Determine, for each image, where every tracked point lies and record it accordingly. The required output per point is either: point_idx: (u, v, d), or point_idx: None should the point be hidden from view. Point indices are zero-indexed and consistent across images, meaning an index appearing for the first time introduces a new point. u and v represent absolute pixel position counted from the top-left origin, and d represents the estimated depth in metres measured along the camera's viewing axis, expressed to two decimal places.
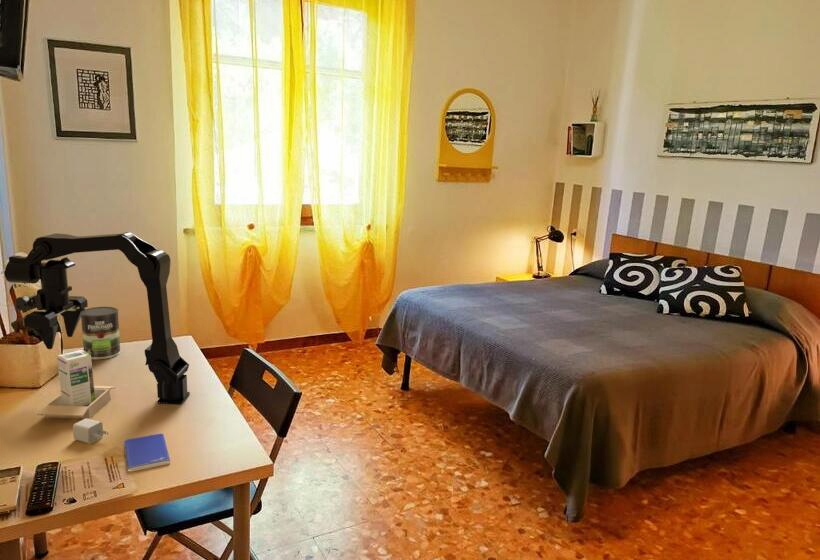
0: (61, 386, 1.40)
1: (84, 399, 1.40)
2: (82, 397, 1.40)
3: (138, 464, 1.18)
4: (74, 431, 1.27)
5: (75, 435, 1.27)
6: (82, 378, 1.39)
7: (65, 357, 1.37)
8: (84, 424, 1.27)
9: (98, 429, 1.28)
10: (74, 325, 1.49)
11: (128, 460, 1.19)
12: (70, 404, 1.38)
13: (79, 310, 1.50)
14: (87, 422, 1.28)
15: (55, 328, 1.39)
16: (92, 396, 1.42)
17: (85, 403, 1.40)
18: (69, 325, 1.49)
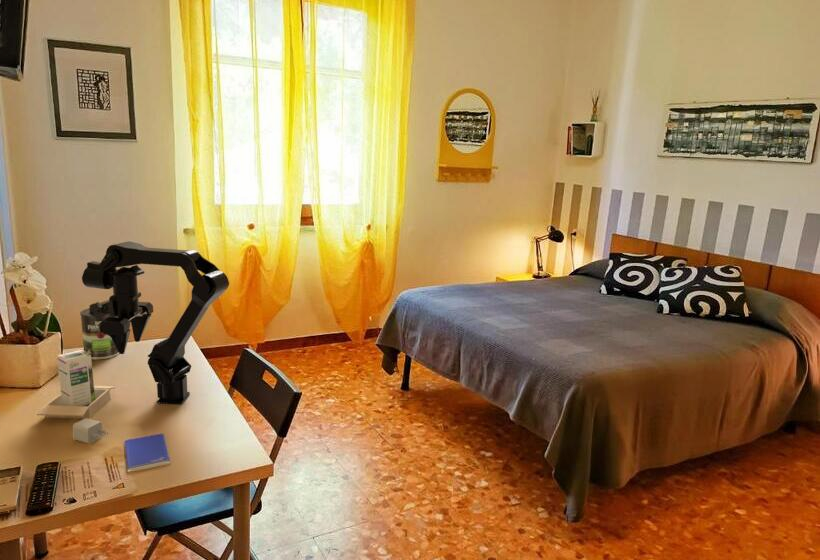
0: (61, 386, 1.40)
1: (84, 399, 1.40)
2: (82, 397, 1.40)
3: (138, 464, 1.18)
4: (74, 431, 1.27)
5: (75, 435, 1.27)
6: (82, 378, 1.39)
7: (65, 357, 1.37)
8: (84, 424, 1.27)
9: (98, 429, 1.28)
10: (141, 330, 1.53)
11: (128, 460, 1.19)
12: (70, 404, 1.38)
13: (146, 315, 1.54)
14: (86, 422, 1.28)
15: (128, 334, 1.42)
16: (92, 396, 1.42)
17: (85, 403, 1.40)
18: (137, 330, 1.53)
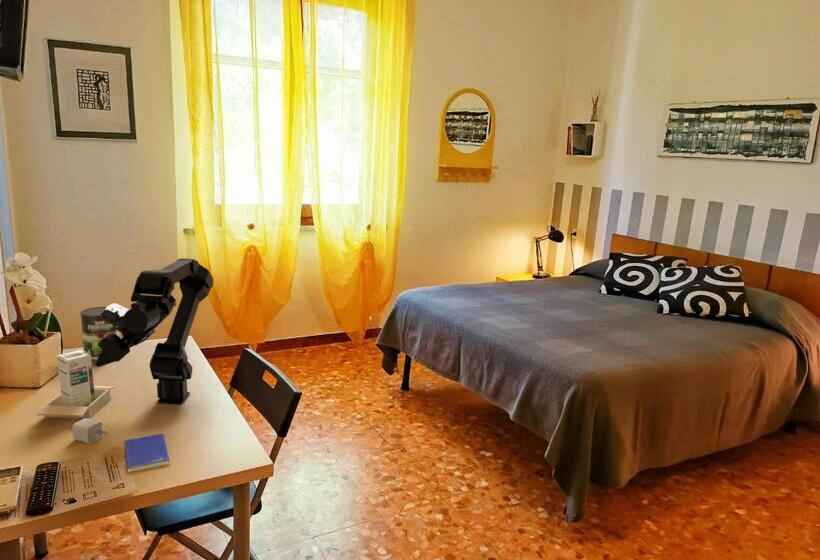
0: (61, 386, 1.40)
1: (84, 399, 1.40)
2: (82, 397, 1.40)
3: (138, 464, 1.18)
4: (73, 431, 1.27)
5: (75, 435, 1.27)
6: (82, 378, 1.39)
7: (65, 357, 1.37)
8: (83, 424, 1.27)
9: (97, 429, 1.28)
10: None
11: (128, 460, 1.19)
12: (70, 404, 1.38)
13: None
14: (86, 422, 1.28)
15: None
16: (92, 396, 1.42)
17: (85, 403, 1.40)
18: None
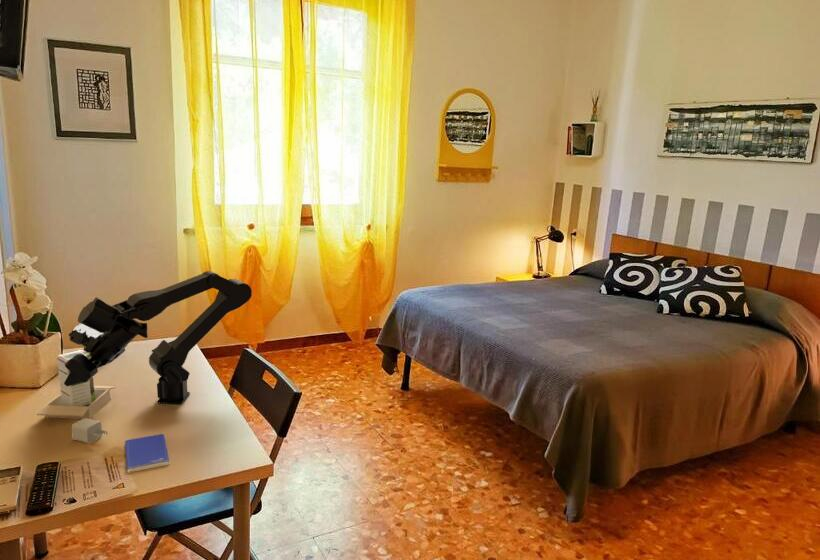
0: (61, 386, 1.40)
1: (84, 399, 1.40)
2: (82, 397, 1.40)
3: (137, 465, 1.18)
4: (73, 431, 1.27)
5: (74, 435, 1.27)
6: None
7: (65, 357, 1.37)
8: (83, 424, 1.27)
9: (97, 429, 1.28)
10: None
11: (128, 461, 1.19)
12: (70, 404, 1.38)
13: None
14: (86, 421, 1.28)
15: None
16: (92, 396, 1.42)
17: (85, 403, 1.40)
18: None
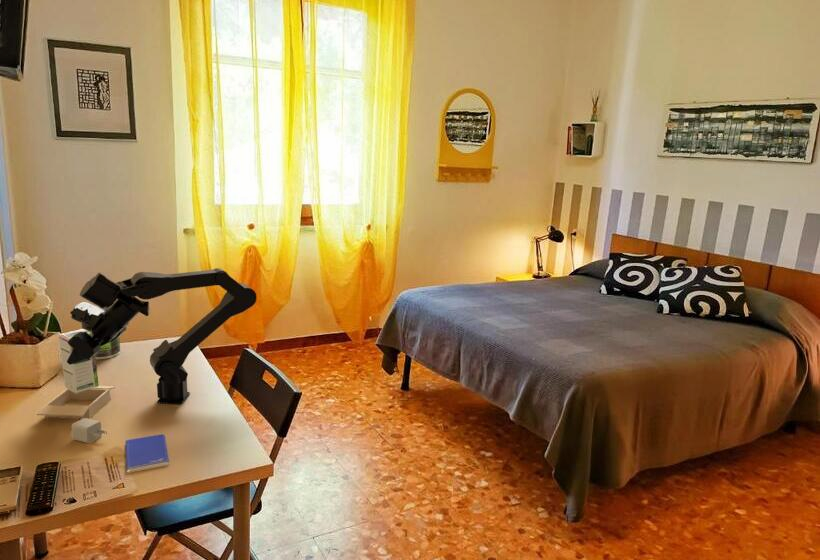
0: (63, 365, 1.40)
1: (87, 377, 1.40)
2: (85, 375, 1.40)
3: (137, 465, 1.18)
4: (73, 431, 1.27)
5: (74, 435, 1.27)
6: None
7: (67, 335, 1.37)
8: (83, 424, 1.27)
9: (97, 428, 1.28)
10: None
11: (127, 461, 1.19)
12: (73, 382, 1.38)
13: None
14: (85, 421, 1.28)
15: None
16: (95, 374, 1.42)
17: (88, 382, 1.41)
18: None
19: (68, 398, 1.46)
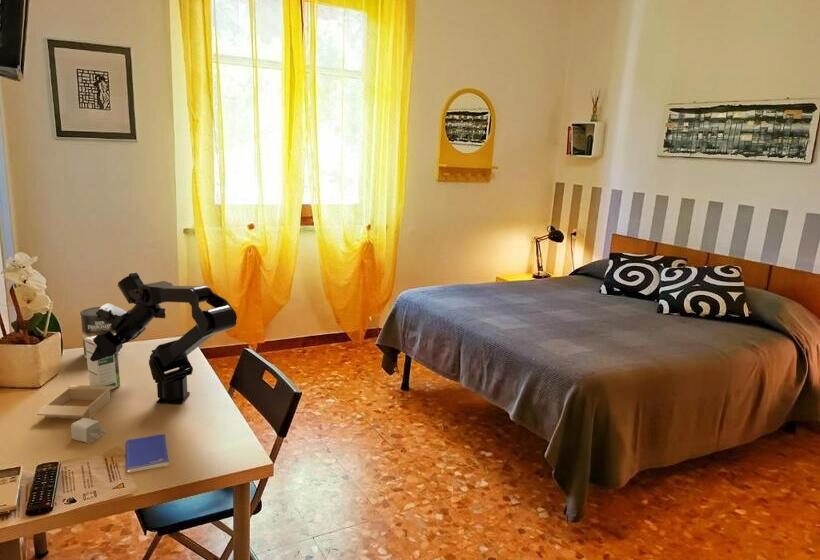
0: (89, 366, 1.52)
1: (110, 378, 1.53)
2: (108, 376, 1.52)
3: (137, 465, 1.17)
4: (72, 430, 1.27)
5: (74, 435, 1.27)
6: (108, 359, 1.51)
7: None
8: (82, 423, 1.27)
9: (96, 428, 1.28)
10: None
11: (127, 461, 1.19)
12: (97, 382, 1.51)
13: None
14: (85, 421, 1.28)
15: None
16: (117, 375, 1.54)
17: (111, 382, 1.53)
18: None
19: (68, 398, 1.46)
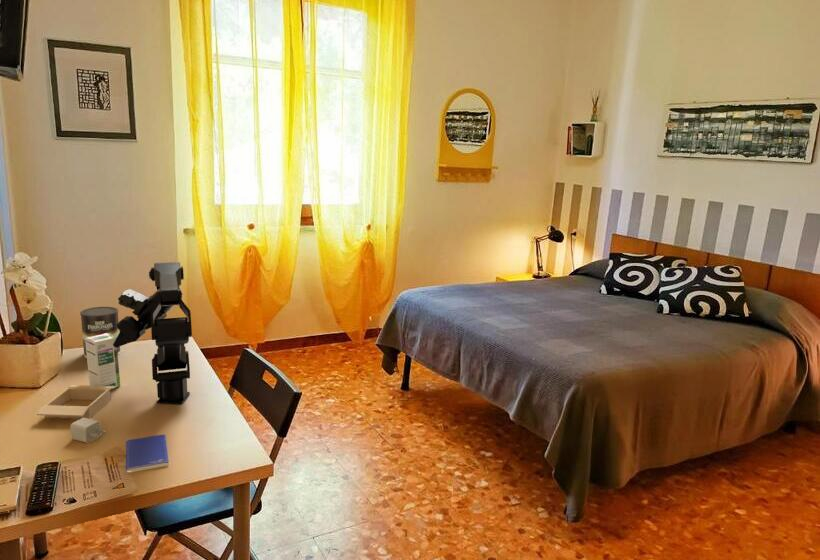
0: (89, 366, 1.52)
1: (110, 378, 1.53)
2: (108, 376, 1.52)
3: (136, 465, 1.17)
4: (72, 430, 1.27)
5: (73, 435, 1.27)
6: (108, 359, 1.51)
7: (93, 339, 1.49)
8: (82, 423, 1.27)
9: (96, 428, 1.28)
10: None
11: (127, 461, 1.19)
12: (97, 382, 1.51)
13: None
14: (84, 421, 1.28)
15: None
16: (117, 375, 1.54)
17: (111, 382, 1.53)
18: None
19: (68, 398, 1.46)
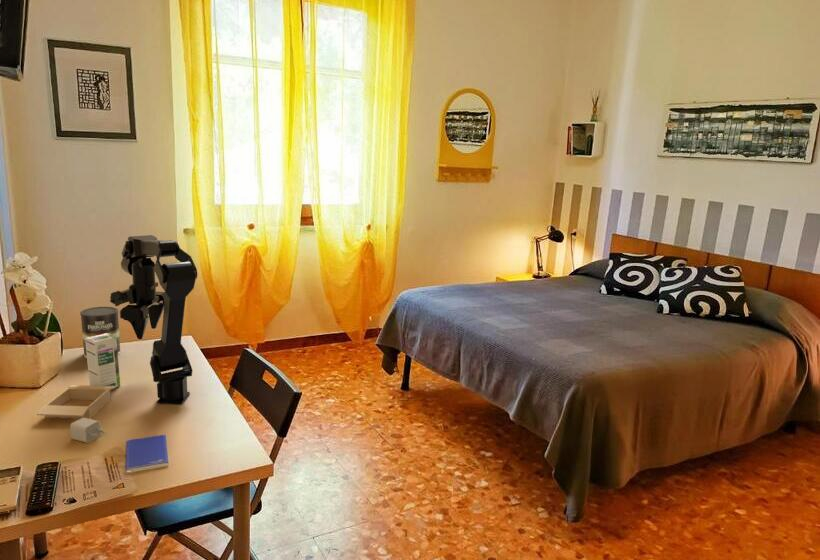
0: (89, 366, 1.52)
1: (110, 378, 1.53)
2: (108, 376, 1.52)
3: (136, 466, 1.17)
4: (71, 430, 1.27)
5: (73, 434, 1.27)
6: (108, 359, 1.51)
7: (93, 339, 1.49)
8: (81, 423, 1.27)
9: (95, 428, 1.28)
10: (158, 318, 1.64)
11: (127, 461, 1.19)
12: (97, 382, 1.51)
13: (162, 304, 1.65)
14: (84, 421, 1.28)
15: (146, 320, 1.53)
16: (117, 375, 1.54)
17: (111, 382, 1.53)
18: (153, 318, 1.64)
19: (68, 398, 1.46)
